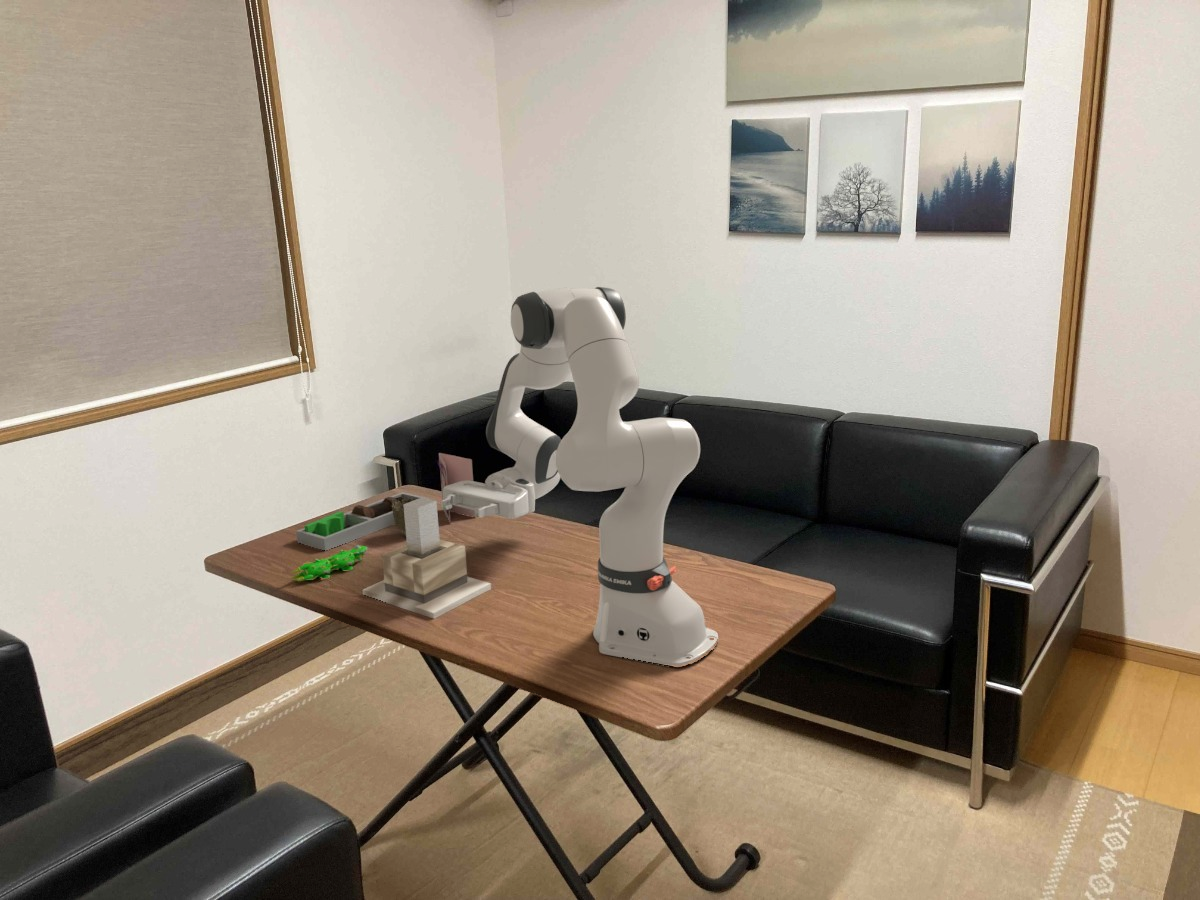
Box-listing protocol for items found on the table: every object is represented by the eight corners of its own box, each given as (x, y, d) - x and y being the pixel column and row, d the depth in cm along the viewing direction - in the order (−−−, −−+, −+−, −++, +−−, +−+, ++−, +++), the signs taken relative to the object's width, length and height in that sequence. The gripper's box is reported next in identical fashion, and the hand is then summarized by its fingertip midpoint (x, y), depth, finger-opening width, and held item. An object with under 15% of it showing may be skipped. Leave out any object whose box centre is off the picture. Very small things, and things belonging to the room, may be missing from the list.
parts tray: (430, 509, 237) (430, 498, 236) (325, 551, 211) (324, 539, 211) (403, 503, 243) (402, 492, 242) (297, 543, 217) (296, 530, 216)
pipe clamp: (318, 547, 215) (315, 528, 214) (306, 544, 217) (304, 525, 216) (353, 531, 224) (351, 512, 223) (342, 528, 226) (340, 510, 225)
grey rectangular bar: (442, 576, 188) (436, 500, 184) (424, 584, 184) (417, 507, 180) (428, 571, 191) (422, 497, 186) (410, 580, 187) (403, 504, 182)
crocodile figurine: (376, 563, 204) (374, 544, 203) (303, 590, 192) (300, 570, 190) (359, 556, 209) (357, 538, 207) (286, 582, 196) (283, 563, 195)
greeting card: (439, 510, 237) (435, 453, 233) (468, 506, 239) (464, 449, 235) (446, 524, 226) (442, 465, 222) (477, 520, 228) (473, 461, 224)
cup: (433, 532, 221) (430, 500, 219) (411, 542, 215) (408, 510, 213) (409, 527, 225) (407, 496, 223) (387, 537, 219) (384, 505, 217)
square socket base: (491, 588, 189) (488, 547, 186) (434, 618, 176) (430, 574, 174) (421, 568, 200) (417, 528, 198) (363, 595, 188) (358, 553, 185)
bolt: (406, 516, 239) (361, 532, 226) (394, 504, 240) (348, 520, 228) (413, 499, 236) (368, 514, 224) (400, 487, 237) (355, 502, 225)
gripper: (467, 470, 209) (422, 487, 198) (539, 484, 197) (495, 503, 187) (469, 497, 211) (425, 515, 200) (540, 513, 199) (497, 533, 188)
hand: (459, 509), depth 193 cm, fingers open, 8 cm apart
